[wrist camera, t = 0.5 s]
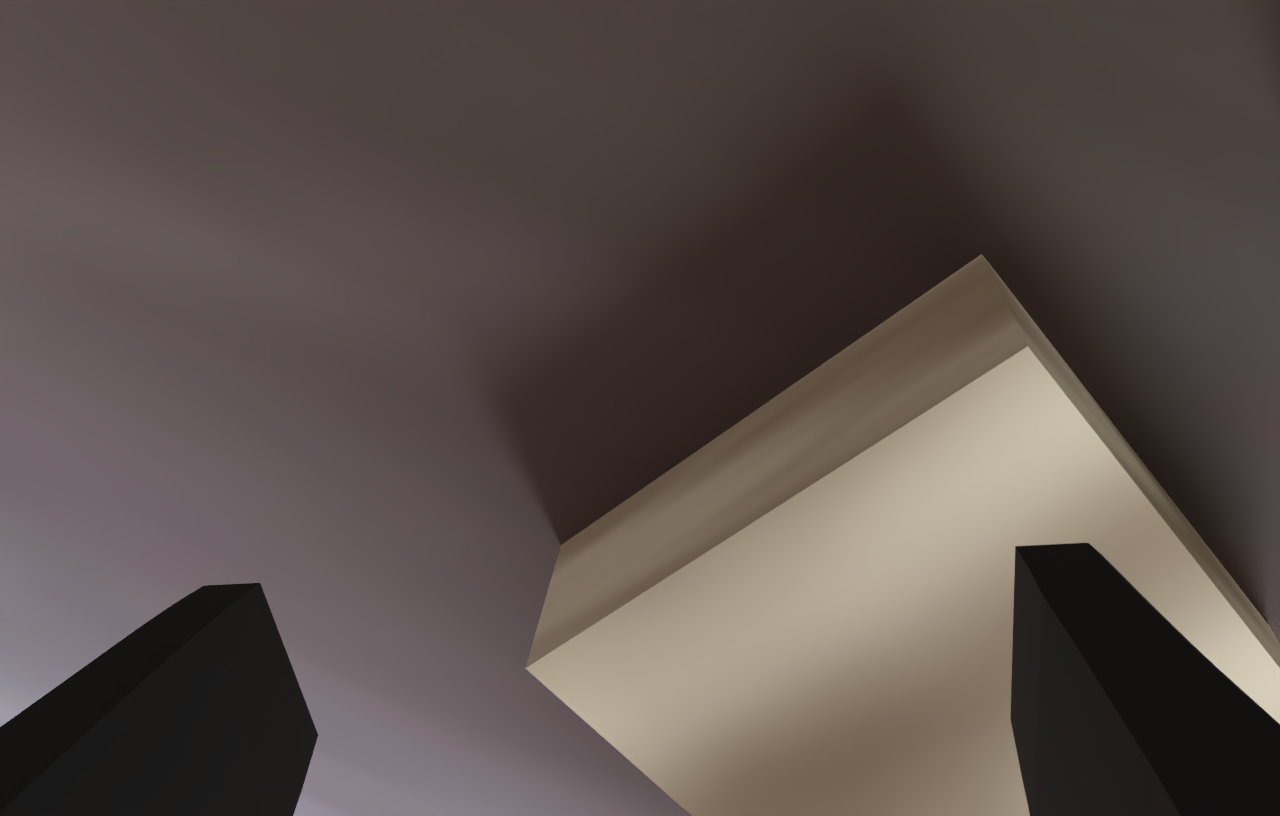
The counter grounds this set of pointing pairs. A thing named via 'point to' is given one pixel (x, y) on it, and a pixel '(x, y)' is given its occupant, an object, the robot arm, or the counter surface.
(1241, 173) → the counter surface
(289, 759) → the robot arm
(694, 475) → the birch base
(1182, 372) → the counter surface
